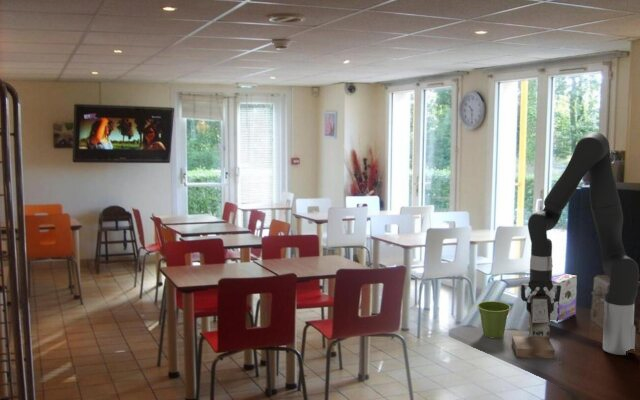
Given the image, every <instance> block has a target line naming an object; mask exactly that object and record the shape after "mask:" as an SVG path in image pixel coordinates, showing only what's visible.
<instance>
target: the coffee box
mask: <svg viewBox="0 0 640 400" xmlns="http://www.w3.org/2000/svg"><path fill="white" fill-rule="evenodd" d="M533 295H534V294H533ZM550 312H551V298H550V297H548V296H547V295H545V296H543V295H535V296H534V297H532V299H531V313H529V312H528V314H529V319H528V321H529V322H528V323H529V324H528V326H529V328H528V334H529V337H548V339H549V341H550V340H551V339H550V337H551V321H550Z"/></svg>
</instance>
